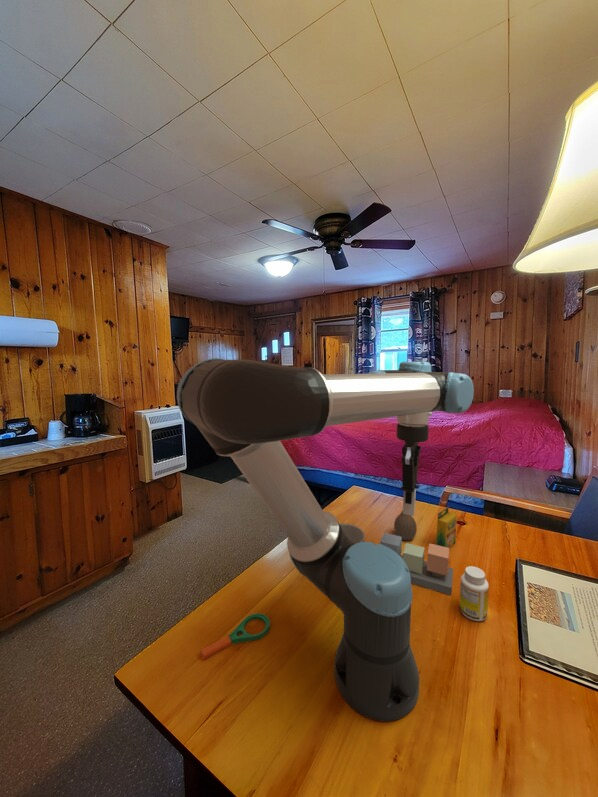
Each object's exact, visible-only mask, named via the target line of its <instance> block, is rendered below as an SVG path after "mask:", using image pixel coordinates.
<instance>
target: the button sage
mask: <svg viewBox="0 0 598 797" xmlns="http://www.w3.org/2000/svg"><path fill="white" fill-rule="evenodd" d="M425 549H426V548H425V546H419V545H415V544H411V543H408V542H406V543H405V546H404V548H403V552H402V555H403V560H404V562H405V563H406V565H407V567H408V569H409V571H412V572H415V573H419V574H422V571H423V566H424V561H425Z"/></svg>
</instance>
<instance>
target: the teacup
mask: <svg viewBox="0 0 598 797" xmlns="http://www.w3.org/2000/svg"><path fill="white" fill-rule="evenodd" d="M339 524H340V526H341V527H342V529H343V531H344V532H345V534H346V535H347V536H348V537H349V538H351V539H352V540H354V541H355V542H357V543H360V542H365V538H366V537H365V536H366V534H365V532H364V530H363V529H362V528H360V527H359V526H358V525H355V524H352V523H345V522H344V523H343V522H342V523H339Z"/></svg>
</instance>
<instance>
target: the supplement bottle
mask: <svg viewBox="0 0 598 797" xmlns="http://www.w3.org/2000/svg"><path fill="white" fill-rule="evenodd" d="M489 586H490V585H489V582H488V580H487V579H486V573H485V571H484V570H482V569H481V568H479V567H478V566H473V565H471V566H470V565H469V566H466V567H465V570H464V573H463V574H461V577H460V587H459V609H460V611H461V613H462V614H463V616H465V617H466V618H467V619H469V620H471V621H474V622H482V621H484V620H487V617H488V609H489V608H488V606H489V604H488V603H489V592H490V591H489V590H490V589H489Z"/></svg>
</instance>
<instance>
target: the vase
mask: <svg viewBox="0 0 598 797" xmlns="http://www.w3.org/2000/svg"><path fill="white" fill-rule="evenodd" d="M393 522H394V523H393V531H394V533H395V535H396V536H400V537H402V541H406V542H409V541H411V540H413V539H414V538H415V536H416V534H417V531H418V530H417V528H418V526H417V523H416V520H415V518H414V516H411V515H407V514H403V510H401V512H400V513H399V514H398V515H397V517H396V518H395V520H394V521H393Z"/></svg>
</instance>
